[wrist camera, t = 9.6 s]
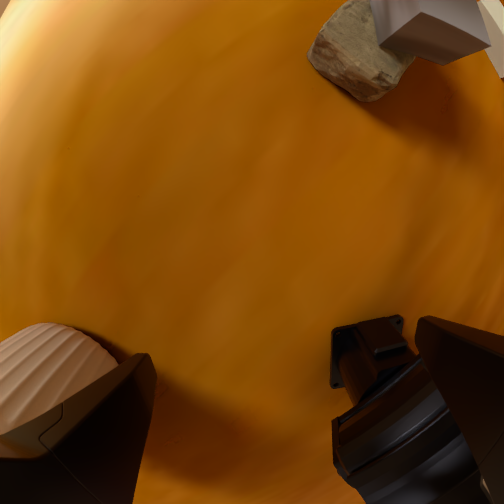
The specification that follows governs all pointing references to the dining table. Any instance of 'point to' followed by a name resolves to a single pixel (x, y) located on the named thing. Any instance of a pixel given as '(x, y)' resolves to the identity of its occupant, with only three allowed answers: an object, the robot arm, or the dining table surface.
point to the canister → (46, 370)
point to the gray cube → (430, 28)
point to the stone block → (357, 53)
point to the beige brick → (494, 32)
